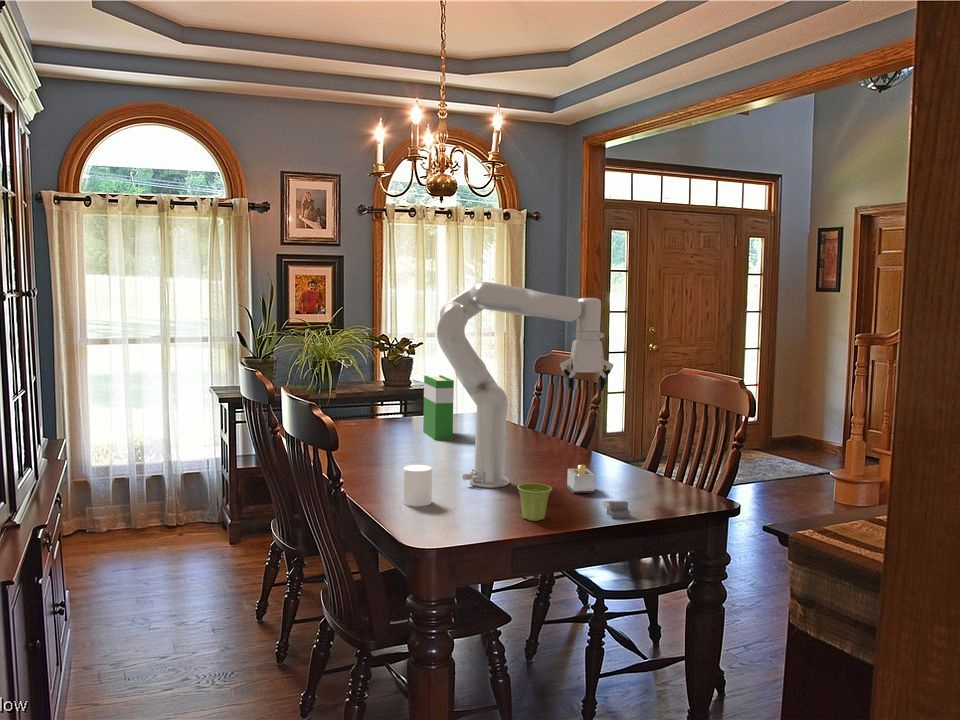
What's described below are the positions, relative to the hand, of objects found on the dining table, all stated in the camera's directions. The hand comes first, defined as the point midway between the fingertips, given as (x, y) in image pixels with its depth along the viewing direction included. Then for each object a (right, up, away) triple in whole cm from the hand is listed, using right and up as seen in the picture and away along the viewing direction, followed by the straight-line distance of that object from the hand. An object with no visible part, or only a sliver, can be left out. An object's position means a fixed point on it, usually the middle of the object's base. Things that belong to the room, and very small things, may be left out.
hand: (585, 389), depth 262 cm
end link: (-3, -30, -7) cm, 31 cm away
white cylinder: (-53, -32, -23) cm, 66 cm away
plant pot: (-19, -34, -37) cm, 54 cm away
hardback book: (-51, -22, +75) cm, 93 cm away
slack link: (+4, -33, -26) cm, 43 cm away
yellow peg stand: (-3, -31, -7) cm, 32 cm away
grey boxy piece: (+5, -34, -34) cm, 48 cm away
